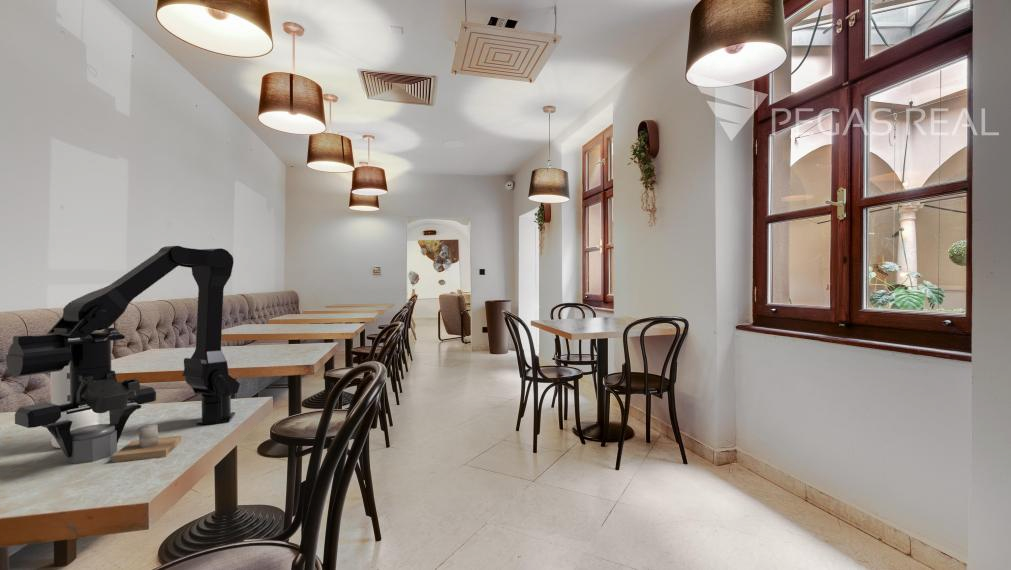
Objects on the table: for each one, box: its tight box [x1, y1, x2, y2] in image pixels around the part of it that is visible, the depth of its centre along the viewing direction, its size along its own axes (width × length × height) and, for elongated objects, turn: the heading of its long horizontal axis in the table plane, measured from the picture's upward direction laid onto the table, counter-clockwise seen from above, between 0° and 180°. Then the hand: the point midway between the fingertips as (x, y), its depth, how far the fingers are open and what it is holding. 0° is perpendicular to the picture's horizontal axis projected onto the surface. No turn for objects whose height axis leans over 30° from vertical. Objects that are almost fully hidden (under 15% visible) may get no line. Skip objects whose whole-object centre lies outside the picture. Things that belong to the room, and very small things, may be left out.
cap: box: [66, 423, 118, 465], centre depth 84 cm, size 6×6×5 cm
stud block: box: [112, 424, 182, 463], centre depth 86 cm, size 8×8×5 cm
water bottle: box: [50, 338, 100, 449], centre depth 91 cm, size 7×7×25 cm
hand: (92, 450), depth 84 cm, fingers closed on cap, 6 cm apart
